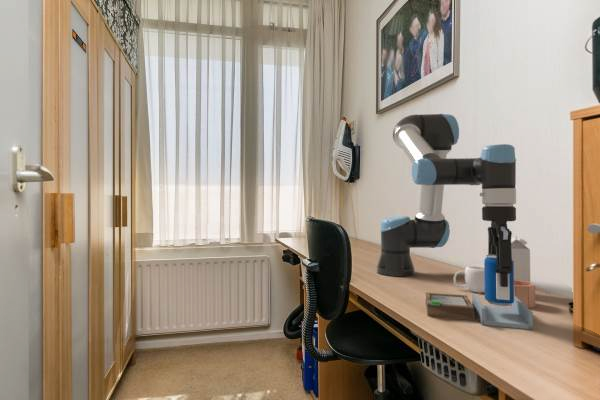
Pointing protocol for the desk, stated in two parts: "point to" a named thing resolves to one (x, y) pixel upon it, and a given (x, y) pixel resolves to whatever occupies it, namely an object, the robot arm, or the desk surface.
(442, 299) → the grey flat square plate
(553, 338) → the desk surface
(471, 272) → the mug
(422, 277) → the desk surface
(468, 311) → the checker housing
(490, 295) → the beverage can
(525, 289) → the cup
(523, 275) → the milk carton
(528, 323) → the trough
